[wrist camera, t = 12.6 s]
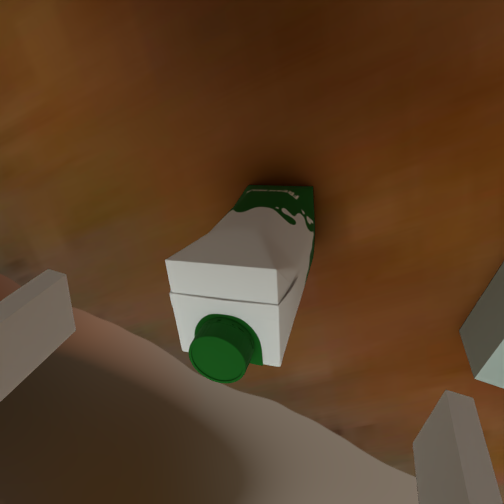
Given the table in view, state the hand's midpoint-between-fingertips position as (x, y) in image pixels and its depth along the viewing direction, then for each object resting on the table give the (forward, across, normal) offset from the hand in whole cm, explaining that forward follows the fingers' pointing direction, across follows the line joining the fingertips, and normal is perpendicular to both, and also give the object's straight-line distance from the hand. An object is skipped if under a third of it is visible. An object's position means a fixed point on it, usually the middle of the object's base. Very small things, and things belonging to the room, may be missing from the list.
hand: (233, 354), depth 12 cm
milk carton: (+27, -3, -7) cm, 28 cm away
